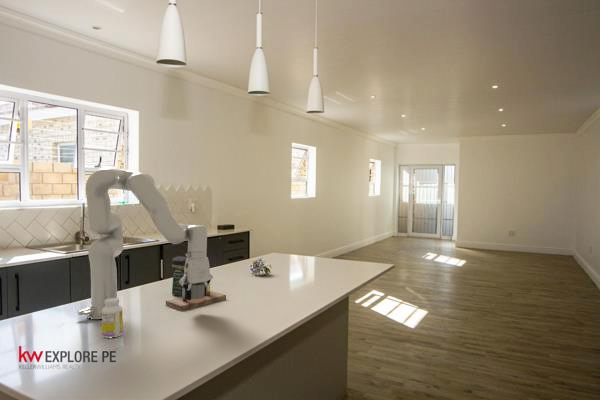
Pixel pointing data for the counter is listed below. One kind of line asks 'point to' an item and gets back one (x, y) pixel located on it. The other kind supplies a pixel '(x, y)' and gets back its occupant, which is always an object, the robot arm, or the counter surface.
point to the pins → (206, 293)
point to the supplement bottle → (112, 318)
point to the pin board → (185, 305)
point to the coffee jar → (178, 274)
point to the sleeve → (197, 292)
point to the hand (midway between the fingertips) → (195, 297)
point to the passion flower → (259, 267)
